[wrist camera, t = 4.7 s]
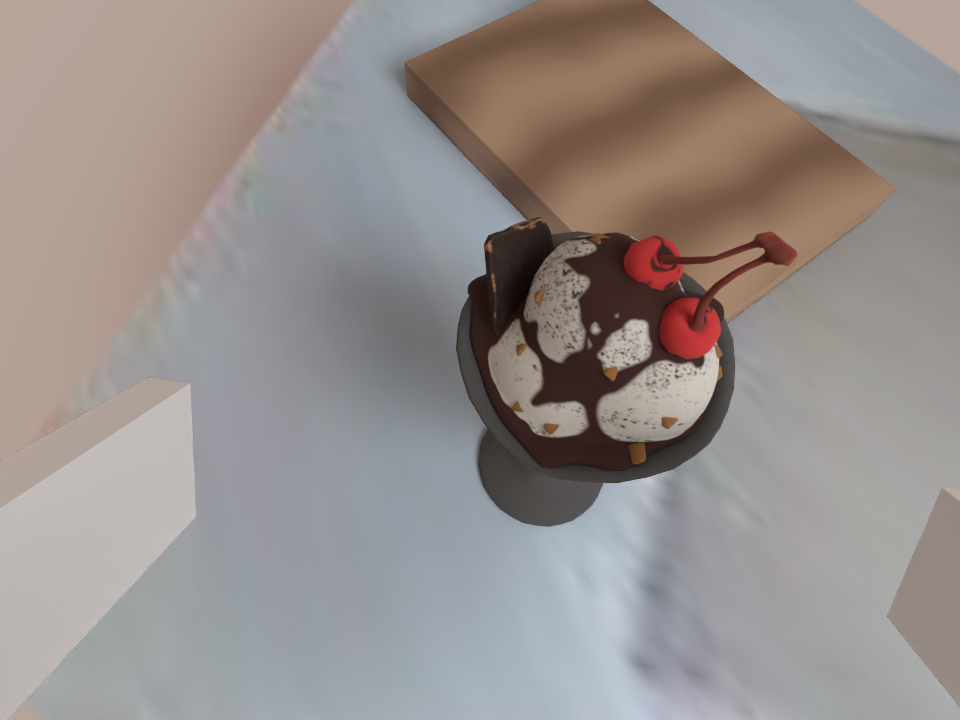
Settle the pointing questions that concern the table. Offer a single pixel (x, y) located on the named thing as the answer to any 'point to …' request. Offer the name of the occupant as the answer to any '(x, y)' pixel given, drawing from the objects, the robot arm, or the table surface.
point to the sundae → (593, 362)
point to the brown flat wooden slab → (642, 138)
